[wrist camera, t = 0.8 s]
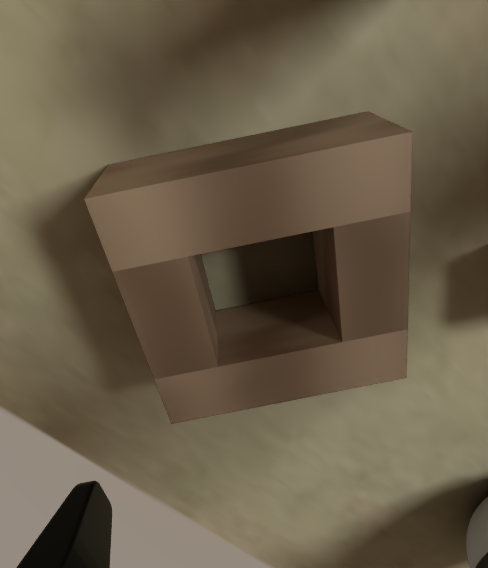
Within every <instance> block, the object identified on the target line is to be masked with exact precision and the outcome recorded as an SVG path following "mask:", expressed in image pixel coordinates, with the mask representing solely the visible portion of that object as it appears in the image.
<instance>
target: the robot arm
mask: <svg viewBox="0 0 488 568" xmlns="http://www.w3.org/2000/svg"><path fill="white" fill-rule="evenodd" d="M111 528H112V507H111V504H110V502H109V500H108V498H107V496H106V494H105V493H104V491H103V489H102V488H101V486H100V484H99V483H98V482H96V481H90V482H85V483H80V484H78V485H76V486H75V487H74V488H73V490H72V491H71V492H70V494H69V495H68V496H67V498H66V499H65V501H64V502H63V504H62V505H61V506H60V508H59V509H58V511H57V512H56V513H55V515H54V516H53V517H52V519H51V520H50V522H49V523H48V524H47V526H46V527H45V529H44V530H43V531H42V533H41V534H40V536H39V537H38V538H37V540H36V541H35V542H34V544H33V545H32V547H31V548H30V550H29V551H28V552H27V554H26V555H25V556H24V558H23V559H22V561H21V562H20V563H19V565H18V566H17V568H110V548H111Z"/></svg>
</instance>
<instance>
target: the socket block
mask: <svg viewBox="0 0 488 568" xmlns="http://www.w3.org/2000/svg"><path fill="white" fill-rule="evenodd" d="M411 166H412V131H409V130H407V129H405V128H403V127H401V126H399V125H396V124H394V123H392V122H390V121H388V120H386V119H383V118H381V117H379V116H377V115H375V114H373V113H370V112H363V113H358V114H353V115H348V116H343V117H338V118H334V119H329V120H324V121H319V122H314V123H309V124H304V125H300V126H295V127H290V128H285V129H280V130H275V131H270V132H266V133H261V134H256V135H251V136H246V137H241V138H236V139H231V140H227V141H222V142H217V143H212V144H207V145H202V146H197V147H193V148H188V149H183V150H178V151H173V152H168V153H163V154H158V155H154V156H149V157H144V158H139V159H134V160H129V161H124V162H120V163H115V164H110V165H108V166H107V167H106V168H105V170H104V171H103V173H102V174H101V176H100V177H99V178H98V180H97V181H96V183H95V184H94V186H93V187H92V188H91V190H90V191H89V193H88V194H87V195H86V197H85V198H84V200H85V203H86V205H87V208H88V210H89V213H90V216H91V218H92V221H93V223H94V226H95V228H96V231H97V234H98V236H99V239H100V241H101V244H102V246H103V249H104V252H105V254H106V257H107V259H108V262H109V264H110V267H111V270H112V272H113V275H114V277H115V280H116V282H117V285H118V288H119V290H120V293H121V295H122V298H123V300H124V303H125V306H126V308H127V311H128V313H129V316H130V319H131V321H132V324H133V326H134V329H135V331H136V334H137V337H138V339H139V342H140V344H141V347H142V349H143V352H144V355H145V357H146V360H147V362H148V365H149V367H150V370H151V373H152V375H153V378H154V380H155V383H156V385H157V388H158V391H159V393H160V396H161V398H162V401H163V403H164V406H165V409H166V411H167V414H168V416H169V419H170V422H171V424H174V423H179V422H184V421H189V420H194V419H199V418H204V417H209V416H215V415H220V414H225V413H230V412H235V411H240V410H245V409H250V408H255V407H260V406H265V405H271V404H276V403H281V402H286V401H291V400H296V399H301V398H306V397H311V396H316V395H321V394H327V393H332V392H337V391H342V390H347V389H352V388H357V387H362V386H367V385H372V384H377V383H383V382H388V381H393V380H398V379H403V378H407V339H408V296H409V252H410V209H411ZM307 232H312V233H313V242H314V252H315V261H316V271H317V280H318V291H313V292H308V293H303V294H298V295H293V296H288V297H283V298H278V299H273V300H268V301H263V302H258V303H253V304H248V305H243V306H238V307H233V308H228V309H223V310H218V311H215V307H214V303H213V300H212V296H211V292H210V288H209V284H208V280H207V277H206V273H205V269H204V265H203V261H202V257H201V254H203V253H208V252H213V251H218V250H223V249H228V248H233V247H238V246H243V245H248V244H253V243H258V242H263V241H268V240H273V239H277V238H282V237H287V236H292V235H297V234H302V233H307Z"/></svg>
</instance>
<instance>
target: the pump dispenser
mask: <svg viewBox="0 0 488 568" xmlns="http://www.w3.org/2000/svg"><path fill="white" fill-rule="evenodd" d="M466 550H467V558H468V563H469V567H470V568H488V497H486V498H485V499H484V500H483V501H482V502H481V504H480V505H479V506H478V507H477V509H476V510H475V512H474V513H473V515H472V517H471V520H470V522H469V526H468V530H467V537H466Z"/></svg>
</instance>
